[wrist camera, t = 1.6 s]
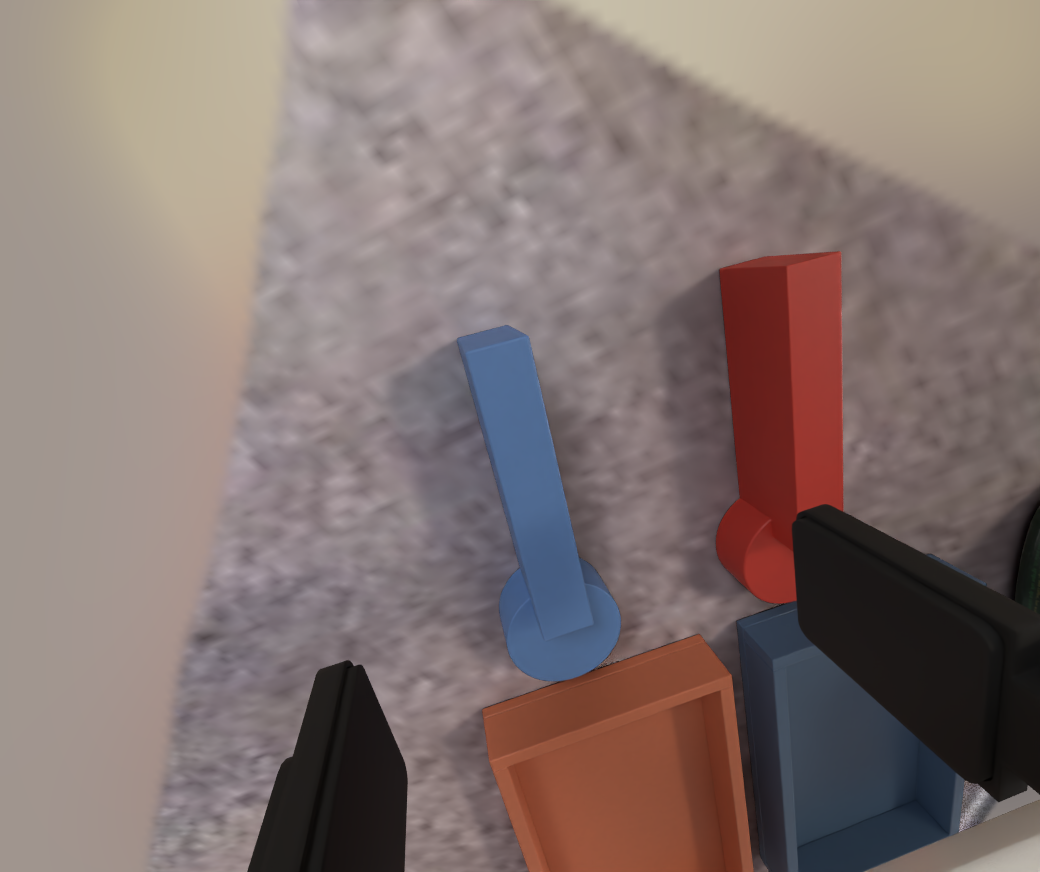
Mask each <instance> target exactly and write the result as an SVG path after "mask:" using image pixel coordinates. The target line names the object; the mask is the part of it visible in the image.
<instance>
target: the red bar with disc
mask: <svg viewBox="0 0 1040 872" xmlns="http://www.w3.org/2000/svg"><path fill="white" fill-rule="evenodd" d="M719 271H720V283H721V294H722V305H723V316H724V327H725V338H726V350H727V361H728V372H729V383H730V394H731V405H732V416H733V428H734V439H735V450H736V461H737V472H738V483H739V495H740V498H739V499H738V500H737V501H736V502H735V503H734V504H733V505H732V506H731V507H730V508H729V509H728V511H727V512H726V514H725V515H724V517H723V518H722V520H721V522H720V525H719V528H718V531H717V535H716V550H717V554H718V557H719V560H720V561H721V563H722V565H723V566H724V567H725V568H726V569H727V570H728V571H729V572H730V573H731V574H732V575H733V576H734V577H735V578H736V579H737V580H738V581H739V582H741V583H742V584H743V585H744V586H745V587H746V588H747V589H748V590H749V591H750V592H751V593H752V594H753V595H754V596H756V597H757V598H759V599H761V600H763V601H766V602H770V603H776V604H782V603H790V602H793V601H797V598H796V584H795V569H794V555H793V541H792V523H793V522H794V521H796V517H797V514H798V513H799V512H801V511H804V510H807V509H810V508H813V507H816V506H819V505H822V504H828V505H831V506H833V507H835V508H837V509H839V510H841V511H843V409H842V286H841V252H839V251H838V252H824V253H810V254H796V255H781V256H767V257H762V258H758V259H754V260H750V261H746V262H743V263H739V264H735V265H731V266H728V267H724V268H720V270H719Z"/></svg>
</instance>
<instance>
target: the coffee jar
mask: <svg viewBox="0 0 1040 872" xmlns="http://www.w3.org/2000/svg"><path fill="white" fill-rule="evenodd" d="M1015 602H1017V603H1019V604H1021V605H1023V606H1025V607H1027V608H1029V609H1030V610H1032V611H1034V612H1036V613H1038V614H1040V507H1039V508H1038V509H1037V511H1036V513H1035V515H1034V516H1033V519H1032V521H1031V523H1030V527H1029V530H1028V533H1027V537H1026V540H1025V543H1024V547H1023V551H1022V555H1021V561H1020V566H1019V572H1018V578H1017V584H1016V593H1015Z"/></svg>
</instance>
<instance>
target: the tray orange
mask: <svg viewBox="0 0 1040 872" xmlns="http://www.w3.org/2000/svg"><path fill="white" fill-rule="evenodd" d="M732 685H733V683H732V675H731V674H730V673H729V671H728V670H727V669H726V667H725V666H724V665H723V664H722V662H721V661H720V660H719V658H718V657H717V656H716V655H715V653H714V652H713V651H712V650H711V648H710V647H709V646H708V644H707V643H706V642H705V640H704V639H703V638H702V637H701V635H700V634H698V635H695V636H692V637H689V638H686V639H684V640H681V641H678V642H675V643H672V644H669V645H666V646H663V647H660V648H658V649H655V650H652V651H649V652H646V653H643V654H640V655H637V656H634V657H632V658H629V659H626V660H623V661H620V662H617V663H614V664H611V665H608V666H606V667H603V668H600V669H597V670H594V671H591V672H588V673H586V674H584V675H581V676H579V677H576V678H573V679H569V680H565V681H562V682H559V683H557V684H554V685H551V686H548V687H545V688H542V689H539V690H536V691H533V692H531V693H528V694H525V695H522V696H519V697H516V698H513V699H510V700H508V701H505V702H502V703H499V704H496V705H493V706H490V707H487V708H484V709H483V710H482V713H483V719H484V727H485V734H486V741H487V749H488V756H489V762H490V765H491V768H492V770H493V773H494V776H495V779H496V782H497V784H498V787H499V790H500V793H501V795H502V798H503V801H504V804H505V807H506V809H507V812H508V815H509V818H510V820H511V823H512V826H513V829H514V831H515V834H516V837H517V840H518V842H519V845H520V848H521V851H522V853H523V856H524V859H525V862H526V865H527V867H528V870H529V872H754V871H753V862H752V853H751V844H750V835H749V826H748V817H747V808H746V799H745V790H744V781H743V772H742V763H741V754H740V746H739V737H738V728H737V719H736V710H735V701H734V692H733V686H732Z"/></svg>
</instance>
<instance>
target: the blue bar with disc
mask: <svg viewBox="0 0 1040 872" xmlns="http://www.w3.org/2000/svg"><path fill="white" fill-rule="evenodd" d="M457 343H458V346H459V350H460V354H461V357H462V361H463V364H464V368H465V372H466V375H467V379H468V382H469V386H470V390H471V393H472V397H473V400H474V404H475V408H476V411H477V415H478V418H479V422H480V426H481V429H482V433H483V436H484V440H485V444H486V447H487V451H488V454H489V458H490V462H491V465H492V469H493V472H494V476H495V480H496V483H497V487H498V490H499V494H500V497H501V501H502V505H503V508H504V512H505V515H506V519H507V523H508V526H509V530H510V533H511V537H512V541H513V544H514V548H515V551H516V555H517V559H518V562H519V566H520V568H519V569H518V570H517V571H516V572H515V573H514V574H513V575H512V576H511V577H510V578H509V580H508V581H507V583H506V585H505V586H504V588H503V591H502V593H501V597H500V601H499V613H500V618H501V622H502V627H503V631H504V635H505V640H506V644H507V648H508V652H509V655H510V657H511V659H512V661H513V662H514V664H515V665H516V666H517V667H518V668H519V669H520V670H521V671H522V672H524V673H525V674H527V675H529V676H531V677H533V678H536V679H539V680H544V681H564V680H569V679H573V678H576V677H579V676H581V675H584V674H586V673H587V672H589V671H591V670H592V669H594V668H595V667H597V666H598V665H599V664H600V663H602V662H603V661H604V660H605V659H606V658H607V656H608V655H609V654H610V653H611V651H612V650H613V648H614V646H615V644H616V642H617V640H618V637H619V634H620V629H621V617H620V612H619V608H618V606H617V604H616V602H615V601H614V599H613V597H612V596H611V594H610V592H609V591H608V589H607V587H606V586H605V584H604V582H603V581H602V579H601V577H600V576H599V574H598V572H597V571H596V570H595V569H594V567H593V566H592V565H590V564H589V563H588V562H586V561H585V560H583V559H581V558H579V556H578V551H577V547H576V542H575V538H574V534H573V529H572V525H571V520H570V516H569V512H568V507H567V503H566V498H565V494H564V490H563V485H562V481H561V476H560V472H559V468H558V463H557V459H556V454H555V450H554V445H553V441H552V437H551V432H550V428H549V423H548V419H547V415H546V410H545V406H544V401H543V397H542V393H541V388H540V384H539V379H538V375H537V371H536V366H535V362H534V357H533V353H532V349H531V344H530V340H529V337H528V336H527V335H526V334H524V333H522V332H520V331H518V330H516V329H514V328H512V327H510V326H508V325H505V326H501V327H498V328H494V329H490V330H486V331H482V332H479V333H475V334H471V335H467V336H464V337H460V338H458V339H457Z"/></svg>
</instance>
